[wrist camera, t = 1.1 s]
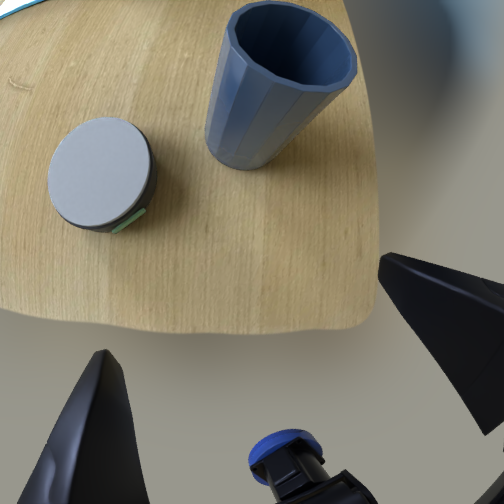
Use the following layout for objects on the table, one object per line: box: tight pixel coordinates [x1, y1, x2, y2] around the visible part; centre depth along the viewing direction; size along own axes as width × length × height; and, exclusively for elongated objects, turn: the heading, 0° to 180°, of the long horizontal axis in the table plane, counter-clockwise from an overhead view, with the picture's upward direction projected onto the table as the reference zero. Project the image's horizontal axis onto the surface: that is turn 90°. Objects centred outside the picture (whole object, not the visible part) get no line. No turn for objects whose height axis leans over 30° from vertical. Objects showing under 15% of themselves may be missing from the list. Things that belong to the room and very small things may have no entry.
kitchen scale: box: [48, 117, 157, 234], centre depth 18 cm, size 9×9×4 cm
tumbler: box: [205, 0, 357, 170], centre depth 16 cm, size 7×7×13 cm
